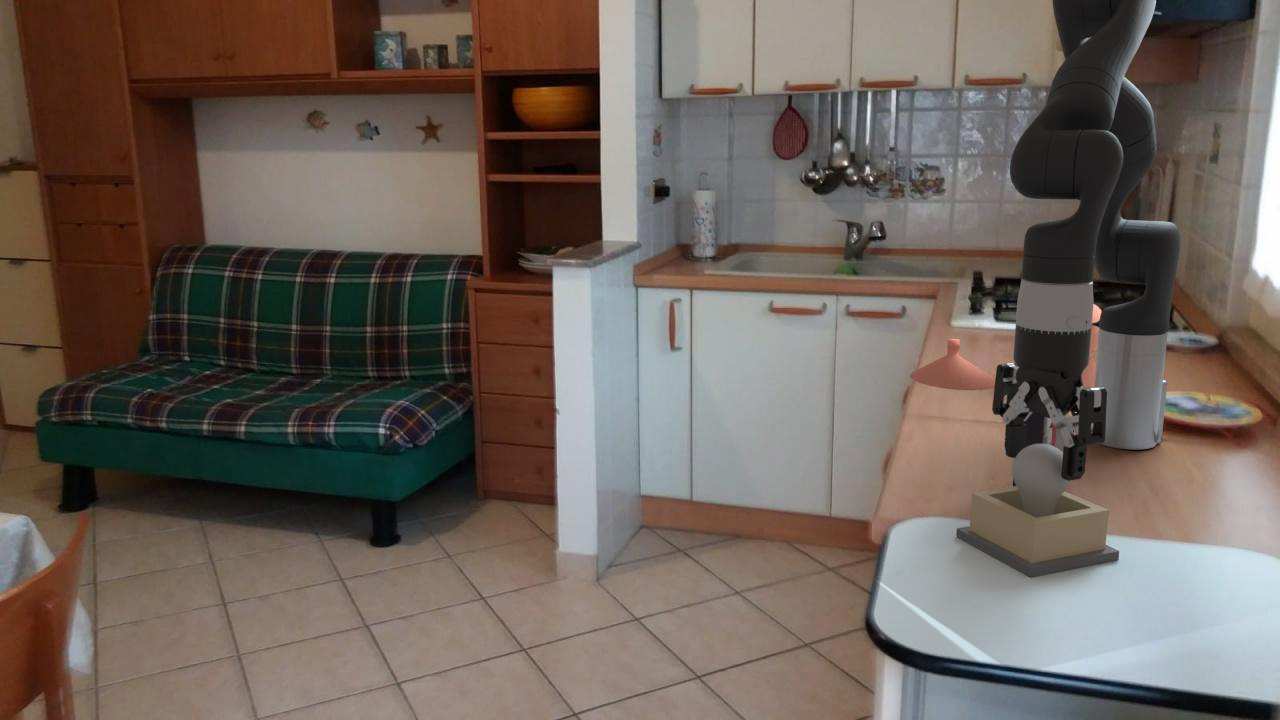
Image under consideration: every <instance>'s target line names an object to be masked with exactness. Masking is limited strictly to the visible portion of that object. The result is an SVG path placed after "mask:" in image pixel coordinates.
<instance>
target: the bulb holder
mask: <svg viewBox="0 0 1280 720" xmlns="http://www.w3.org/2000/svg"><path fill="white" fill-rule="evenodd" d="M970 505H971V507H970V519H969V520H970V521H969V525H968V526H963V527H957V528H956V533H955V534H956V536H957V537H956V538H958V537H959V538H958V539H959V540H961V539H962V541H964V542H965V543H967V544H969V545H971V546H973V547H974V548H976V549H978V550H979V551H982V552H983V553H985V554H987V555H989V556H991V557H992V558H994V559H996V560H998V561H1000V562H1002V563H1003V564H1005V565H1007V566H1009V567H1010V568H1013V569H1015V570H1017V571H1018V572H1020V573H1021V574H1024V575H1025V576H1027V577H1029V578H1034V577H1039V576H1040V577H1041V576H1044V575H1049V574H1054V573H1059V572H1064V571H1068V570H1074V569H1075V570H1076V569H1078V568H1084V567H1089V566H1093V565H1099V564H1103V563H1104V564H1105V563H1109V562H1113V561H1119V560H1120V559H1119V558H1120V550H1118V549H1116V548H1114V547H1111V546H1109V545H1107V544H1106V542H1107V533H1108V531H1107V530H1108V522H1109V515H1110V514H1109V513H1110V510H1109V509H1107V508H1105V507H1103V506H1101V505H1098V504H1096V503H1093V502H1091V501H1089V500H1086V499H1084V498H1082V497H1079V496H1077V495H1075V494H1072V493H1071V492H1070V493H1069V492H1068V491H1066V490H1065V491H1064V492H1063V494H1062V495H1061V496H1060V497H1059V499H1058V501H1057V503H1056V506H1055V509H1054V514H1053V515H1048V516H1043V517H1037V518H1036V517H1034V516H1032V515H1030V514H1027V513H1025V512H1023V502H1022V498H1021V495H1020V492H1019V490H1018V488H1017V486H1013V485H1012V486H1006V487H1000V488H994V489H988V490H982V491H975V492H972V493H971V503H970Z"/></svg>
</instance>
